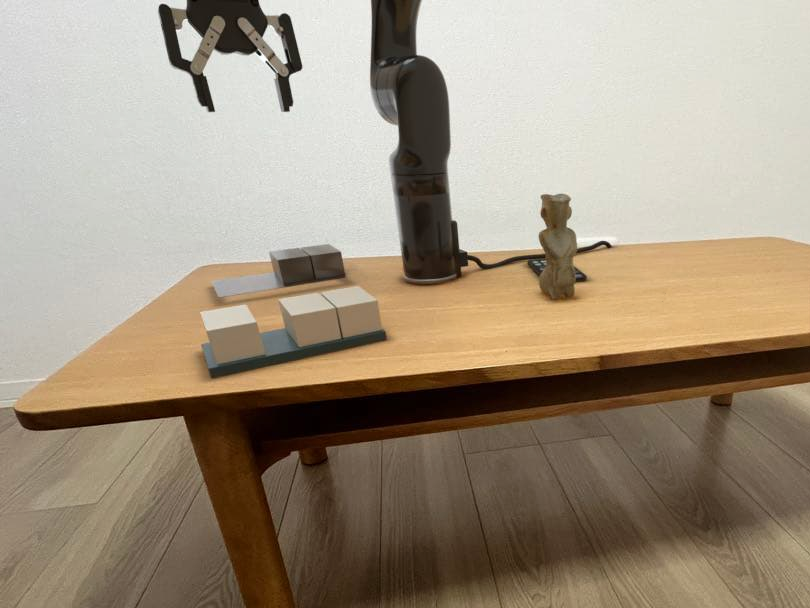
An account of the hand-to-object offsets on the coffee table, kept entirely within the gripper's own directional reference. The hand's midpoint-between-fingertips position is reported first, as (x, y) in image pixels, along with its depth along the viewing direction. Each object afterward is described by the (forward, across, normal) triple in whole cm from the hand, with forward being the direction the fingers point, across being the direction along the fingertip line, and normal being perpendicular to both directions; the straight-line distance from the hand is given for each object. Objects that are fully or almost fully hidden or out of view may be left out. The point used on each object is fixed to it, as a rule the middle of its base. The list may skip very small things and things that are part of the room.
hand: (249, 112), depth 67 cm
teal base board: (+26, -3, -14) cm, 30 cm away
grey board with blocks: (+26, +1, +17) cm, 31 cm away
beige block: (+25, -10, -14) cm, 30 cm away
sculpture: (+26, +36, -16) cm, 47 cm away
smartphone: (+26, +44, -4) cm, 51 cm away
